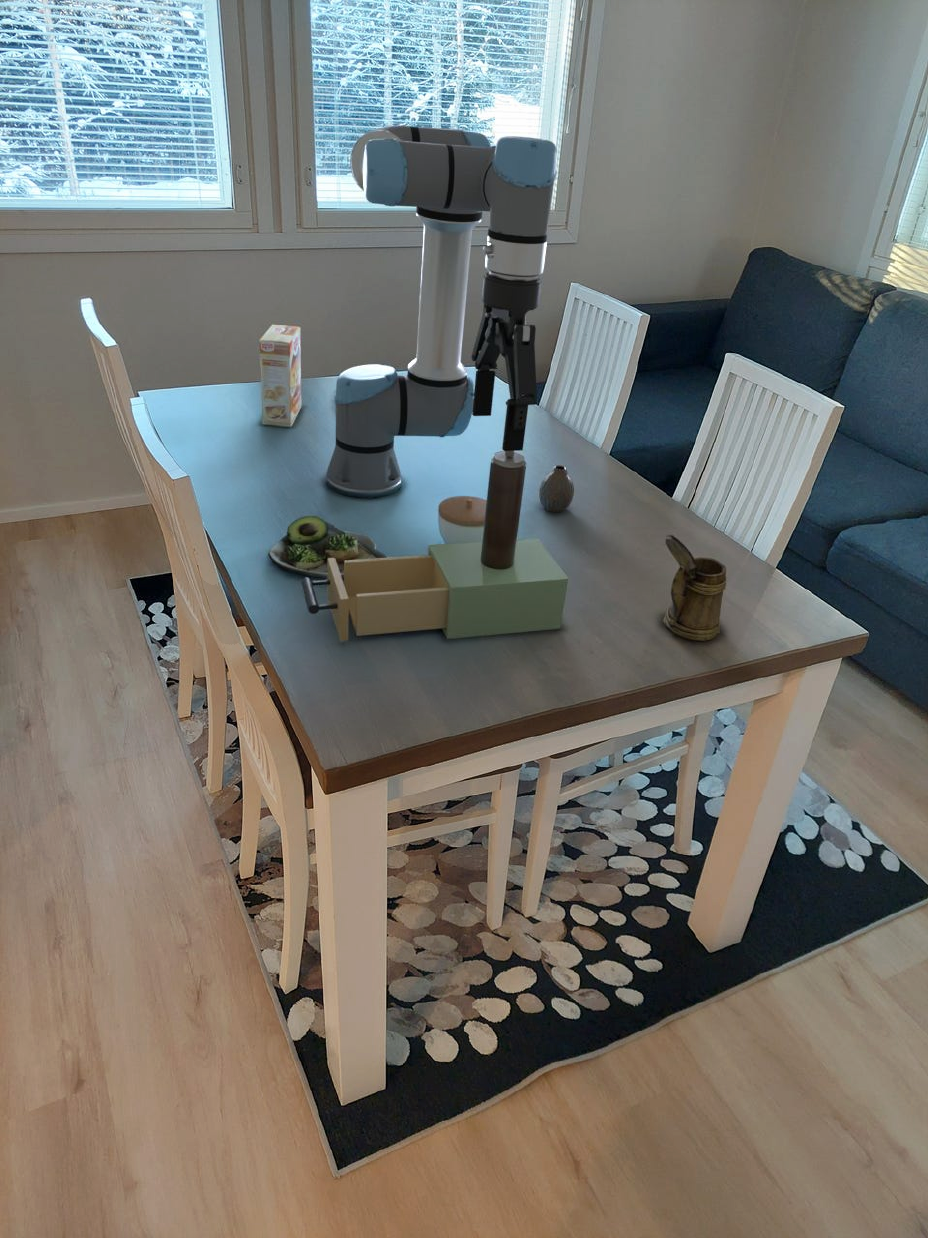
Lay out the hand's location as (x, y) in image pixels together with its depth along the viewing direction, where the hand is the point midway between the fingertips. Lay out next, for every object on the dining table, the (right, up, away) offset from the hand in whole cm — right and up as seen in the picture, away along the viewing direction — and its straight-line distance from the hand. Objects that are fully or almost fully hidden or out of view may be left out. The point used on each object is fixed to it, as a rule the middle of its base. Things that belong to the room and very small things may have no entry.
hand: (496, 431), depth 123 cm
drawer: (-18, -26, +11) cm, 34 cm away
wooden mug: (+30, -28, +17) cm, 45 cm away
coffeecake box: (-48, +22, +85) cm, 100 cm away
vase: (+14, -4, +52) cm, 54 cm away
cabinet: (0, -25, +17) cm, 30 cm away
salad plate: (-29, -16, +28) cm, 43 cm away
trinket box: (-4, -14, +35) cm, 38 cm away
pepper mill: (+1, -18, +12) cm, 21 cm away
